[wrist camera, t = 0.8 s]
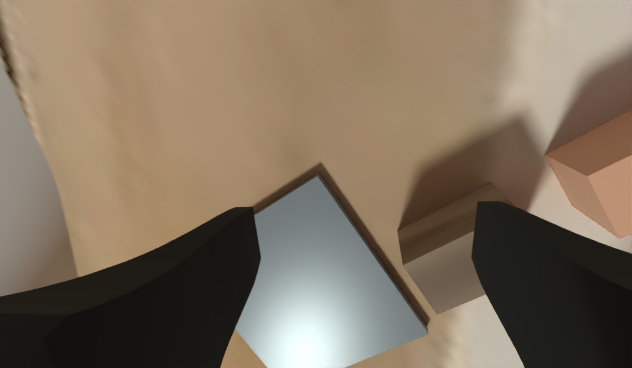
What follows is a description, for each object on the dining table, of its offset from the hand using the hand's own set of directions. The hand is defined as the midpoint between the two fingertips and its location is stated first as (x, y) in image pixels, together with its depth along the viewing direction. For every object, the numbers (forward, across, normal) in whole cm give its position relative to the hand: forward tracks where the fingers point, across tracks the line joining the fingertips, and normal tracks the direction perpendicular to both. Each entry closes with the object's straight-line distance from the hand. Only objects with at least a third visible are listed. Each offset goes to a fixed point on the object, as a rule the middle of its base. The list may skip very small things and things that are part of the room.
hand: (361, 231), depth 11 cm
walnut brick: (+9, -6, +5) cm, 12 cm away
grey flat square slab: (+9, +4, +10) cm, 14 cm away
